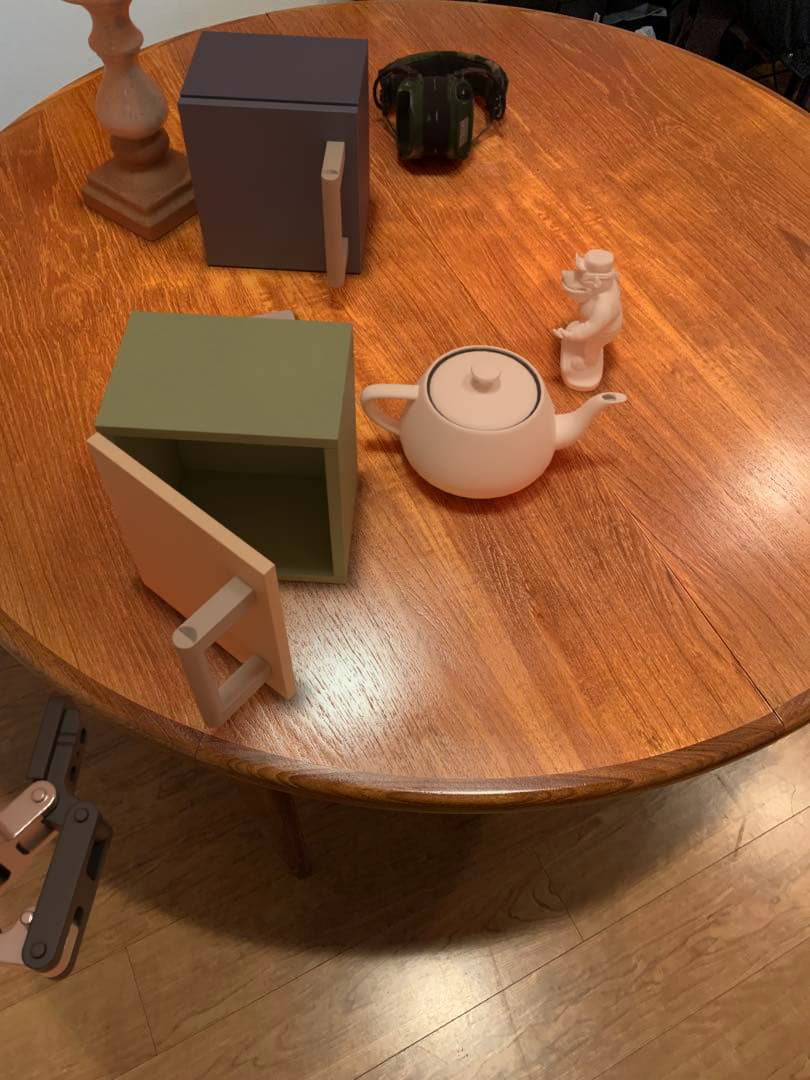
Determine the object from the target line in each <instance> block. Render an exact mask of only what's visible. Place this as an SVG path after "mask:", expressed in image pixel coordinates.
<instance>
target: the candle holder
mask: <svg viewBox="0 0 810 1080" xmlns="http://www.w3.org/2000/svg"><path fill="white" fill-rule="evenodd" d="M61 1H62V2H64V3H68V4H71V5H76V6H80V7H82V8H84V9H85V11H86V12H87V13H88V14H89V16H90V18H91V21H92V22H91V25H92V27H91V30H90V34H89V35H88V39H87V45H88V47H89V48H90V50H91V51H93V52H94V53H95V55H96V56H97V57H98V58H99V59H100V60H101V61H102V63H103V66H104V67H103V74H102V79H101V81H100V83H99V87H98V89H97V92H96V96H95V99H94V111H95V116H96V119H97V122H98V123H99V124H100V126H101V127H102V128H103V129H104V130H105V131H106V132H108V133H109V134H111V135H110V138H109V146H110V149H111V151H112V154H113V157H110V159H108V160H107V161H105V162H104V163H101V164H100V165H99V166H98V167H96V168H95V169H93V170H91V171H90V172H89V173H88V175H87V177H86V180H87V183H86V184H84V185H82V187H80V193H81V196H82V199H83V203H84V204H85V205H86V206H87V207H89V208H91V209H92V210H93V211H95V212H97V213H99V214H101V215H102V216H104V217H106V218H108V219H109V220H111V221H113V222H114V223H116V224H118V225H120V226H122V227H123V228H125V229H127V230H128V231H130V232H131V233H134V234H135V235H137V236H139V237H140V238H143V239H145V240H147V241H150V242H153V241H156V240H158V239H160V238H161V237H163V236H164V235H166V234H168V233H169V232H170V231H172V230H173V229H175V228H176V227H178V226H179V225H180V224H182V223H183V222H185V221H186V220H188V219H189V218H191V217H192V216H193V215H195V214H196V213H198V211H197V205H196V200H195V195H194V190H193V184H192V179H191V174H190V169H189V163H188V158H187V154H186V155H185V154H183V153H182V152H180V151H179V150H176V149H174V148H173V147H170V144H171V141H170V140H171V139H170V136H169V133H168V131H167V130H166V128H165V127H164V126H165V125H166V123H167V120H168V118H169V114H170V113H169V112H170V107H169V102H168V99H167V96H166V95H165V93H164V91H163V90H162V88H161V87H160V86H159V84H158V83H157V82H156V81H155V80H154V79H153V78H152V77H151V76H150V75H149V73H147V72H146V71H145V69H144V68H143V66H142V65H141V63H140V61H139V54H140V52H141V48H142V46H143V45H144V42H145V41H144V40H145V38H144V34H143V32H142V31H141V30H140V28H138V27H137V25H136V24H134V22H133V21H132V19H131V16H130V6H131V4H132V2H133V0H61Z"/></svg>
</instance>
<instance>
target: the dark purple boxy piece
mask: <svg viewBox="0 0 810 1080" xmlns="http://www.w3.org/2000/svg"><path fill="white" fill-rule="evenodd" d="M369 77H370V76H369V39H365V38H348V37H330V36H329V37H327V36H310V35H309V36H308V35H293V34H292V35H290V34H272V33H252V32H251V33H250V32H233V31H215V30H214V31H213V30H201V32H200V35H199V38H198V40H197V43H196V46H195V49H194V52H193V55H192V57H191V60H190V63H189V66H188V69H187V71H186V75H185V77H184V81H183V82H182V83H183V84H182V86H181V89H180V92H179V97H183V98H202V99H221V100H240V101H259V102H278V103H296V104H315V105H334V106H353V107H358V125H359V172H360V220H361V267H362V266H363V259H364V250H365V243H366V238H367V237H366V236H367V229H368V220H369V212H370V205H371V173H370V168H371V167H370V166H371V165H370V163H371V161H370V87H369V86H370V85H369V84H370V79H369Z"/></svg>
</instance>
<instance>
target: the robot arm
mask: <svg viewBox="0 0 810 1080" xmlns="http://www.w3.org/2000/svg"><path fill="white" fill-rule="evenodd" d="M89 737H90V728H89V723H88V721H87V719H86V718H85V717H84V715H83V713H82V712H81V709H80V707H79V705H78V704H77V703H76V701H75V700H74V698H73V697H72V695H71V694H59V693H52V694H51V695H50V696H49V698H48V700H47V703H46V706H45V710H44V712H43V716H42V720H41V723H40V726H39V729H38V733H37V736H36V740H35V743H34V747H33V750H32V754H31V757H30V760H29V764H28V767H27V771H26V773H25V777H24V778H25V779H26V781H28V783H29V784H30V785H29V786H28V787H26V788H25V789H24V790H23V791H22V792H20V793H19V795H18V796H16V797H15V798H14V799H13V800H12V801H11V802H10V803H8V804H7V805H6V806H5V807H4V808H3V809H2V810H1V811H0V896H2V894H3V893H5V891H7V890H8V889H9V888H10V887H11V886H12V885H13V884H14V883H15V882H16V881H17V880H18V879H19V878H20V877H21V876H23V874H25V873H26V872H27V871H28V869H29V868H30V867H31V865H32V863H33V859H34V858H35V857H36V855H37V854H39V852H41V850H43V849H44V848H45V847H46V846H47V845H48V844H49V843H50V842H51V841H52V840H54V839H55V837H57V836H58V837H57V841H56V844H55V847H54V851H53V853H52V856H51V859H50V863H49V865H48V868H47V871H46V875H45V877H44V881H43V884H42V887H41V890H40V893H39V895H38V899H37V901H36V904H32V905H29V906H27V907H25V908H24V909H23V910H21V912H20V914H19V915H18V916H17V919H16V921H15V923H14V924H13V925H12V926H11V927H10V928H9V929H7V930H6V931H4V932H3V931H2V928H1V927H0V967H3V968H11V969H18V970H26V971H34V972H35V973H37V974H39V975H40V976H42V977H44V978H46V979H48V980H49V981H52V982H53V981H54V982H59V981H62V980H64V979H66V978H67V977H68V976H70V974H71V973H72V972H73V970H74V968H75V966H76V962H77V958H78V957H79V953H80V949H81V946H82V942H83V939H84V935H85V932H86V928H87V925H88V922H89V918H90V914H91V912H92V908H93V905H94V901H95V898H96V895H97V891H98V888H99V884H100V881H101V877H102V874H103V871H104V869H105V868H104V867H105V864H106V861H107V857H108V853H109V850H110V848H111V845H112V840H113V837H114V829H113V826H112V824H111V822H109V821H108V819H107V818H106V817H105V815H104V814H103V813H102V811H101V810H100V809H99V808H98V806H97V805H96V804H95V803H94V802H93V801H91V800H88V799H81V798H79V797H77V796H76V788H77V784H78V780H79V776H80V772H81V768H82V765H83V761H84V756H85V753H86V750H87V745H88V743H89Z"/></svg>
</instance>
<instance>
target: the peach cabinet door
mask: <svg viewBox="0 0 810 1080" xmlns="http://www.w3.org/2000/svg"><path fill="white" fill-rule="evenodd" d="M85 442H86V444H87V446H88V449H89V452H90V454H91V456H92V459H93V461H94V464H95V467H96V469H97V471H98V474H99V476H100V479H101V481H102V484H103V486H104V489H105V491H106V494H107V496H108V499H109V501H110V503H111V506H112V508H113V512H114V513H115V516H116V519H117V521H118V523H119V526H120V529H121V531H122V534H123V536H124V538H125V542H126V544H127V546H128V548H129V551H130V553H131V556H132V559H133V561H134V563H135V566H136V568H137V571H138V573H139V575H140V578H141V580H142V583H143V585H145V586H146V587H147V588H149V590H151V591H152V592H153V593H154V594H155V595H157V596H158V597H160V599H162V600H163V601H164V602H166V603H167V604H168V605H169V606H171V607H172V608H173V609H174V610H176V611H177V612H178V613H179V614H180V615H182V617H184V618H185V619H186V620H185V621H183V622H182V624H180V625H179V626H178V627H177V628H176V629H175V631H174V632H173V633H172V636H171V641H172V644H173V647H174V649H175V652H176V654H177V657H178V659H179V662H180V665H181V667H182V670H183V672H184V675H185V677H186V680H187V684H188V686H189V688H190V690H191V692H192V695H193V698H194V700H195V702H196V703H195V704H196V705H197V708H198V710H199V713H200V716H201V718H202V720H203V723H204V725H205V726H206V727H207V728H210V729H217V728H220V727H222V726H223V725H224V724H225V723H226V722H227V721H228V720H229V719H230V718H231V717H232V716H233V715H234V714H235V713H236V712H237V711H238V710H239V709H240V708H241V707H242V706H243V705H244V704H245V703H246V702H247V701H248V700H249V699H250V698H251V697H252V696H253V695H254V694H255V693H256V692H257V691H258V690H260V688H261V687H262V686H263V685H264V684H267V686H269V687H270V688H271V689H273V690H274V691H275V692H276V693H278V694H279V695H280V696H281V697H283V698H284V699H285V700H287V701H290V699H291V698H293V696H294V695H296V693H298V690H297V685H296V679H295V673H294V668H293V661H292V656H291V649H290V645H289V639H288V633H287V627H286V622H285V615H284V609H283V604H282V598H281V593H280V592H281V591H280V588H279V587H280V586H279V582H278V581H279V580H277V575H276V569H275V565H274V564H273V563H272V562H271V561H269V560H268V559H267V558H265V557H264V556H263V555H261V554H260V553H259V552H257V551H256V550H255V549H253V548H252V547H251V546H249V545H248V544H247V543H245V542H244V541H243V540H241V539H240V538H239V537H237V536H236V535H235V534H233V533H232V532H231V531H229V530H228V529H227V528H225V527H224V526H223V525H221V524H220V523H219V522H217V521H216V520H215V519H213V518H212V517H210V516H209V515H208V514H206V513H205V512H204V511H202V510H201V509H200V508H198V507H197V506H196V505H194V504H193V503H192V502H190V501H189V500H188V499H186V498H185V497H184V496H182V495H181V494H180V493H178V492H177V491H176V490H174V489H173V488H172V487H170V486H169V485H168V484H166V483H165V482H164V481H162V480H161V479H160V478H158V477H157V476H156V475H154V474H153V473H152V472H150V471H149V470H148V469H146V468H145V467H144V466H142V465H141V464H140V463H138V462H137V461H136V460H134V459H133V458H132V457H130V456H129V455H128V454H126V453H125V452H124V451H122V450H121V449H120V448H118V447H117V446H116V445H114V444H113V443H112V442H110V441H109V440H108V439H106V438H105V437H104V436H102V435H101V434H100V433H98V432H97V431H95V433H93V434H92V435H91V436H89V437H88V438H87V439H86V440H85ZM214 643H216V644H217V645H219V646H220V647H221V648H222V649H223V650H225V651H226V652H227V653H228V654H230V655H231V656H232V657H234V659H236V660H237V661H238V662H240V663H241V665H240V666H239V667H238V668H237V669H236V670H235V671H234V672H233V673H232V674H231V675H230V676H229V677H228V678H227V679H226V680H225V681H224V682H223V683H222V684H221V685H220V686H219V687H218V685H217V683H216V680H215V677H214V674H213V671H212V668H211V664H210V662H209V660H208V656H207V653H206V650H207V649H208V648H210V646H212V645H213V644H214Z"/></svg>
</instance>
